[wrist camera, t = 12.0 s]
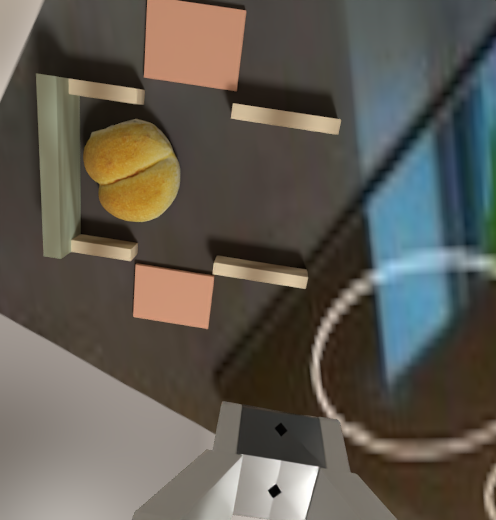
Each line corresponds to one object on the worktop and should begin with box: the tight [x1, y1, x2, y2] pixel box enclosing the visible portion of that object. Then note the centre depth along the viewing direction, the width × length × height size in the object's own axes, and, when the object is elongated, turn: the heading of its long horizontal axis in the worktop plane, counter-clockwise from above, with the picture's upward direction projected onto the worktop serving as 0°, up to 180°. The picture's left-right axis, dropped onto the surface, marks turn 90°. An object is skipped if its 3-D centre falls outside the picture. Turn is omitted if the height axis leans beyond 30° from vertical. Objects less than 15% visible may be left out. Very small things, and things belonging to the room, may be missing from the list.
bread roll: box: [83, 119, 180, 222], centre depth 36 cm, size 8×9×4 cm
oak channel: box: [36, 73, 341, 289], centre depth 36 cm, size 24×15×4 cm, turn 82°
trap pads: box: [133, 0, 246, 329], centre depth 37 cm, size 8×29×1 cm, turn 172°
